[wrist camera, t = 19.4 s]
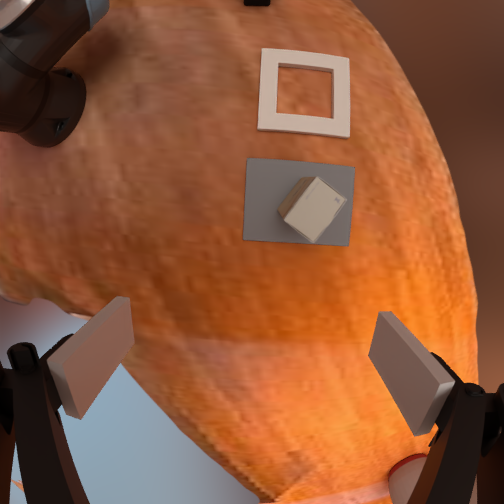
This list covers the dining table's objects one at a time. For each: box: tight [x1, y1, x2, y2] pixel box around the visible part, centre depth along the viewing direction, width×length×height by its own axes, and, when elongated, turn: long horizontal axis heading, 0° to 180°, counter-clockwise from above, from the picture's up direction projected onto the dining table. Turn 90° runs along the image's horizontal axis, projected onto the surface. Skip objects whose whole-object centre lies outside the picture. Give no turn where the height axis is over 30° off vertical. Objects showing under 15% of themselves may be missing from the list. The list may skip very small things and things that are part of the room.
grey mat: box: [243, 158, 355, 246], centre depth 43 cm, size 16×12×1 cm
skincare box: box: [277, 176, 347, 243], centre depth 36 cm, size 6×4×12 cm
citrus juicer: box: [388, 454, 427, 504], centre depth 47 cm, size 16×17×20 cm
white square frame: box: [258, 48, 350, 139], centre depth 38 cm, size 13×13×2 cm
